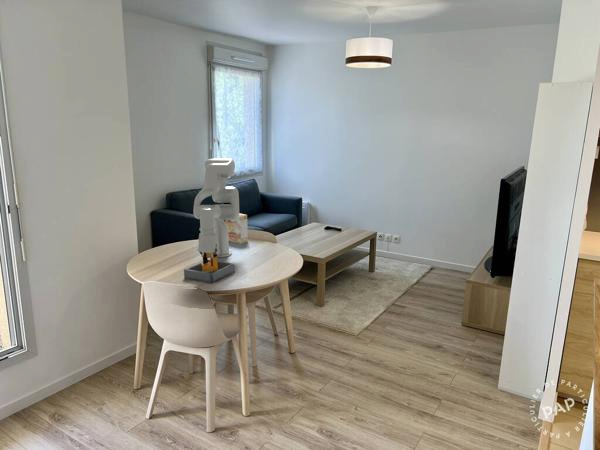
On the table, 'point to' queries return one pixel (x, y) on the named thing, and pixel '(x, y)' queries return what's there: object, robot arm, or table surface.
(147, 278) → the table surface
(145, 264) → the table surface
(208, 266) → the bracket
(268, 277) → the table surface
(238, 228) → the coffeecake box
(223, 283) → the table surface
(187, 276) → the tray
